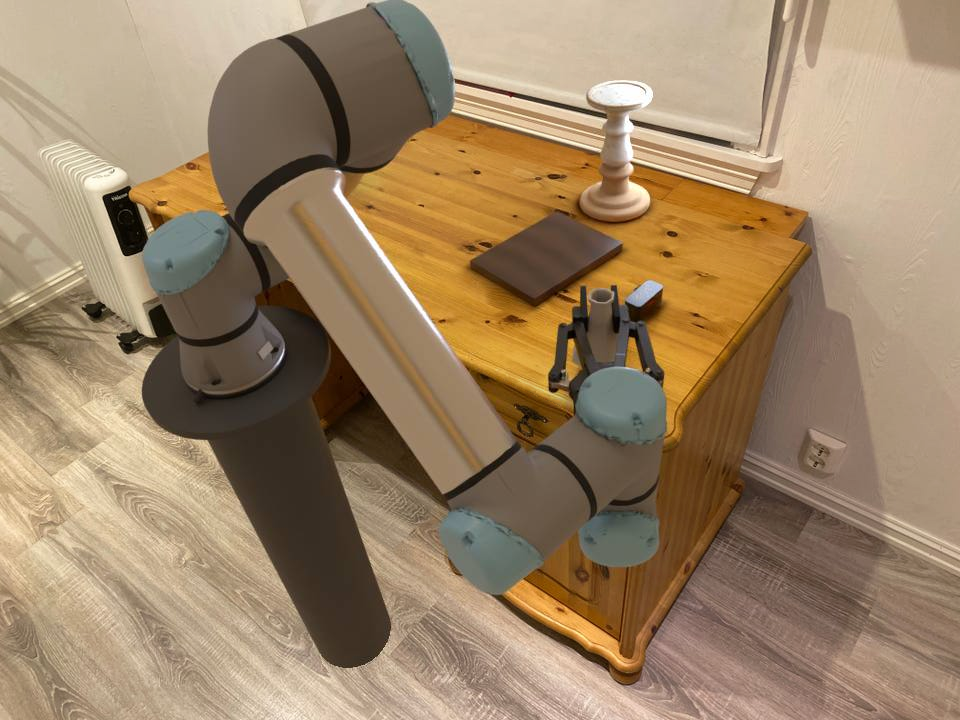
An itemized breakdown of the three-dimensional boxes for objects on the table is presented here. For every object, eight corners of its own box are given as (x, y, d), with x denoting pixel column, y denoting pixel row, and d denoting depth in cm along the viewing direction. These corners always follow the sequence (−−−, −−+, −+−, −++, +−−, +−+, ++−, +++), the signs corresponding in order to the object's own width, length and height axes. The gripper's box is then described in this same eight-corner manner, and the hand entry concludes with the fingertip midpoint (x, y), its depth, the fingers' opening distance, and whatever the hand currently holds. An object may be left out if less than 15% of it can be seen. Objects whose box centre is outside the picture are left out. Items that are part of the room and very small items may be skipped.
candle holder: (626, 230, 120) (632, 115, 107) (565, 210, 127) (564, 99, 113) (662, 198, 127) (673, 85, 113) (604, 180, 133) (607, 72, 120)
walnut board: (534, 306, 108) (534, 298, 107) (470, 267, 116) (469, 260, 115) (622, 250, 116) (623, 242, 115) (556, 218, 125) (556, 210, 124)
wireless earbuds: (666, 300, 106) (668, 283, 104) (638, 325, 102) (639, 307, 100) (639, 289, 108) (641, 272, 106) (611, 313, 105) (612, 295, 103)
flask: (614, 380, 90) (618, 320, 83) (562, 365, 93) (562, 305, 86) (635, 346, 95) (640, 285, 88) (584, 331, 98) (585, 272, 91)
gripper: (534, 449, 80) (536, 317, 97) (683, 449, 78) (659, 314, 96) (532, 403, 75) (535, 272, 92) (691, 402, 73) (664, 268, 90)
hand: (598, 293), depth 94 cm, fingers closed on flask, 3 cm apart
